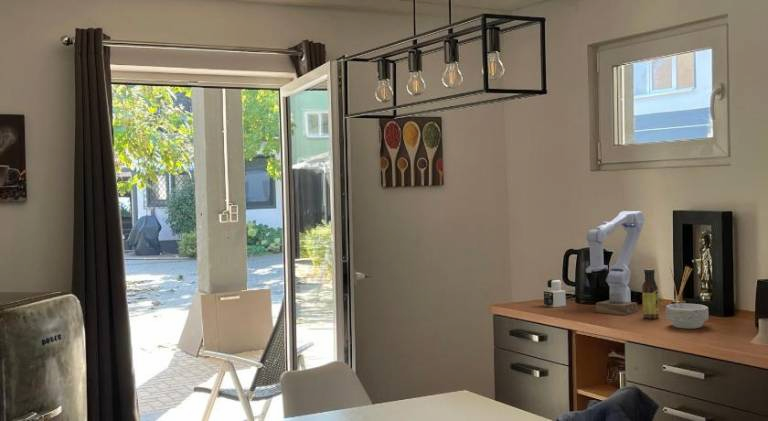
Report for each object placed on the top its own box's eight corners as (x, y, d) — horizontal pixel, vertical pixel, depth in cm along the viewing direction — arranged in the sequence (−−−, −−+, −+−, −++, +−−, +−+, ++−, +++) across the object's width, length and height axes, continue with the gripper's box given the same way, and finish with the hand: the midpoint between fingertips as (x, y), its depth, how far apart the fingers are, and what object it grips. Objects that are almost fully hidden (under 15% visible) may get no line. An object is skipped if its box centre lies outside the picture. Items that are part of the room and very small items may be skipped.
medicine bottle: (543, 305, 383) (543, 279, 382) (556, 304, 386) (555, 278, 385) (553, 307, 376) (552, 281, 376) (566, 306, 379) (565, 279, 379)
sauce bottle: (659, 319, 336) (658, 270, 336) (643, 319, 338) (642, 270, 337) (658, 316, 343) (656, 268, 342) (642, 316, 344) (640, 268, 343)
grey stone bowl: (706, 331, 308) (706, 309, 308) (663, 329, 315) (663, 308, 314) (710, 324, 321) (710, 303, 321) (669, 322, 328) (669, 302, 328)
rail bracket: (612, 311, 360) (611, 292, 360) (622, 312, 357) (622, 293, 356) (609, 311, 359) (609, 293, 359) (620, 312, 355) (619, 294, 355)
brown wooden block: (608, 309, 366) (608, 300, 366) (637, 311, 356) (637, 302, 356) (595, 312, 359) (595, 302, 359) (624, 315, 349) (624, 305, 349)
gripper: (597, 254, 374) (598, 285, 375) (579, 257, 364) (580, 288, 365) (611, 255, 369) (612, 286, 370) (593, 258, 359) (594, 289, 360)
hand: (597, 287), depth 367 cm, fingers open, 7 cm apart
